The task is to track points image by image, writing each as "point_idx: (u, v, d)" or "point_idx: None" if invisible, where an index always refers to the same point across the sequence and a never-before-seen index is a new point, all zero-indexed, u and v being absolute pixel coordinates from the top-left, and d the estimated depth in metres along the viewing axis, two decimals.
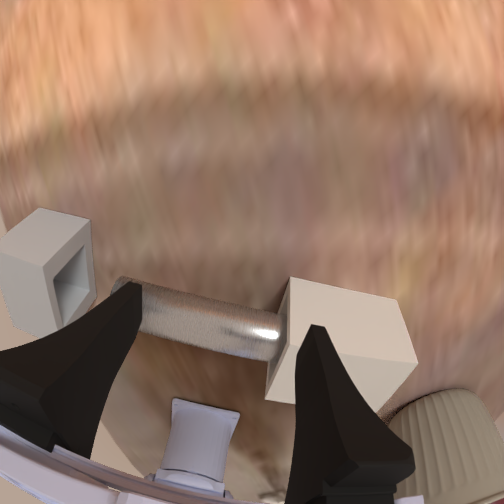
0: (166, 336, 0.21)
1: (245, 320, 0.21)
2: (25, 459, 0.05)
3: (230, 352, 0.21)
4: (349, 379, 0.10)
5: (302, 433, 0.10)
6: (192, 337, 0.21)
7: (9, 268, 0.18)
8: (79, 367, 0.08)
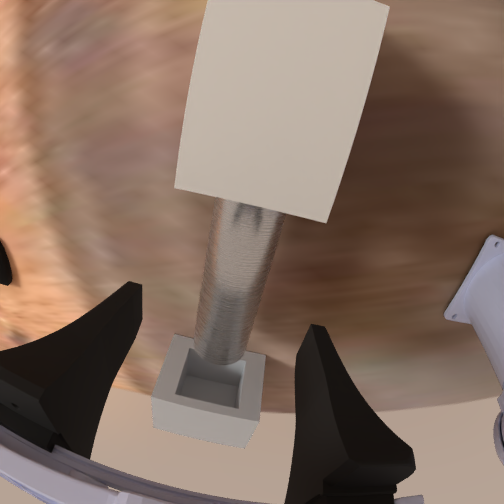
0: (234, 319, 0.18)
1: (212, 224, 0.16)
2: (25, 459, 0.05)
3: (251, 252, 0.16)
4: (349, 379, 0.10)
5: (302, 433, 0.10)
6: (227, 293, 0.17)
7: (167, 422, 0.23)
8: (79, 367, 0.08)
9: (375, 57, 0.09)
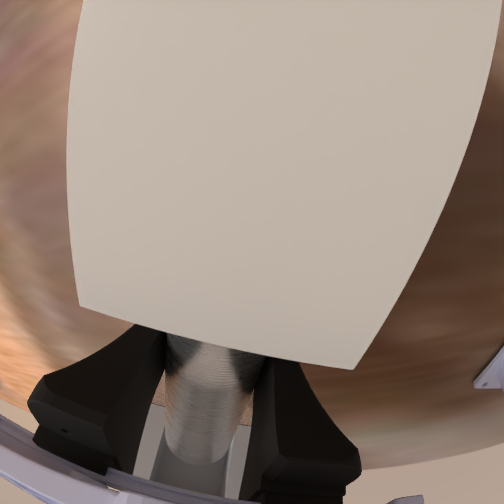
0: (210, 433, 0.12)
1: None
2: (25, 459, 0.05)
3: (226, 374, 0.10)
4: (300, 372, 0.10)
5: (255, 426, 0.10)
6: (196, 412, 0.11)
7: None
8: (133, 386, 0.08)
9: (490, 48, 0.03)
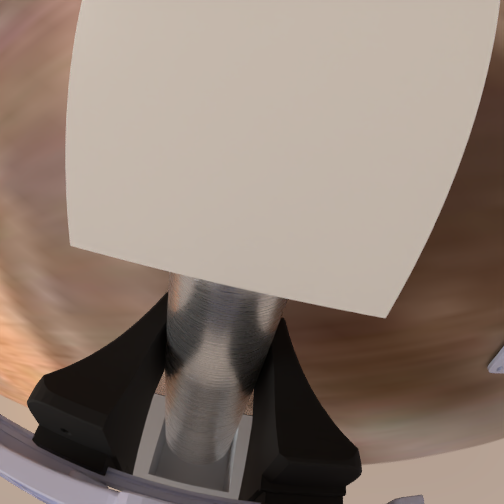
0: (211, 433, 0.12)
1: (167, 323, 0.10)
2: (25, 459, 0.05)
3: (226, 374, 0.09)
4: (300, 372, 0.10)
5: (255, 426, 0.10)
6: (196, 411, 0.11)
7: None
8: (133, 386, 0.08)
9: None
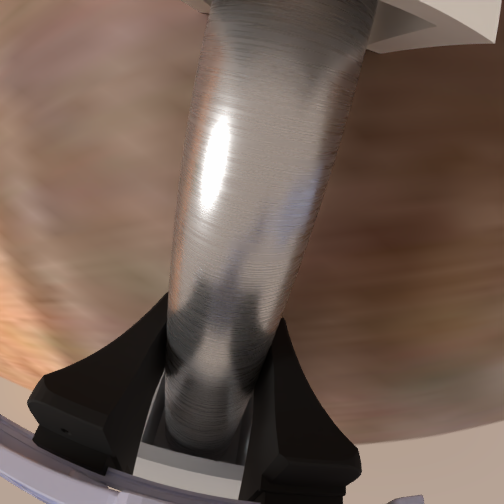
0: (211, 432, 0.12)
1: (167, 320, 0.10)
2: (25, 459, 0.05)
3: (227, 371, 0.09)
4: (300, 372, 0.10)
5: (255, 426, 0.10)
6: (197, 409, 0.11)
7: (135, 475, 0.13)
8: (133, 386, 0.08)
9: None
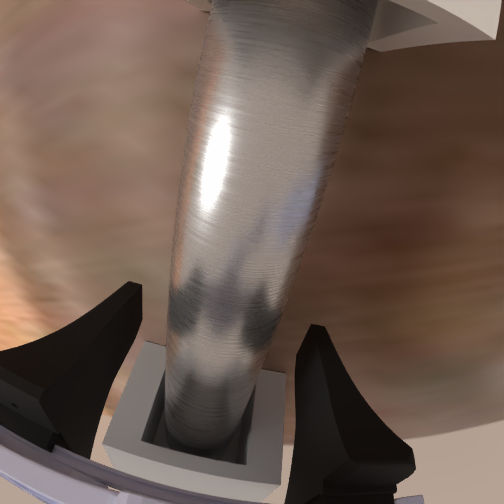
0: (211, 431, 0.12)
1: (167, 320, 0.10)
2: (25, 459, 0.05)
3: (227, 371, 0.09)
4: (349, 379, 0.10)
5: (302, 433, 0.10)
6: (197, 409, 0.11)
7: (135, 474, 0.13)
8: (79, 367, 0.08)
9: None
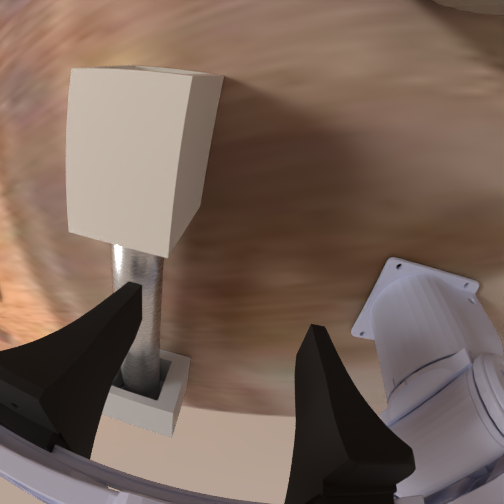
0: (139, 379, 0.25)
1: None
2: (25, 459, 0.05)
3: (136, 346, 0.23)
4: (349, 379, 0.10)
5: (302, 433, 0.10)
6: (130, 365, 0.24)
7: (106, 408, 0.27)
8: (79, 367, 0.08)
9: (182, 125, 0.13)
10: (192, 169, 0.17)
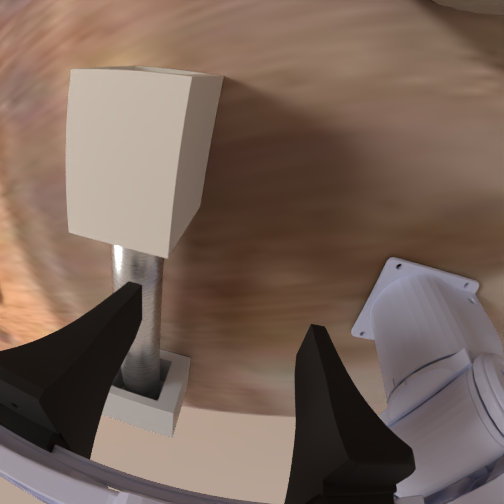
0: (139, 379, 0.25)
1: None
2: (25, 459, 0.05)
3: (137, 347, 0.23)
4: (349, 379, 0.10)
5: (302, 433, 0.10)
6: (130, 365, 0.24)
7: (106, 408, 0.27)
8: (79, 367, 0.08)
9: (182, 126, 0.13)
10: (192, 169, 0.17)
